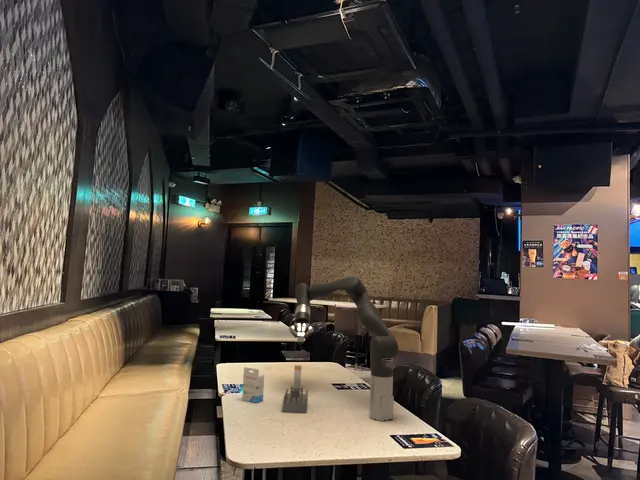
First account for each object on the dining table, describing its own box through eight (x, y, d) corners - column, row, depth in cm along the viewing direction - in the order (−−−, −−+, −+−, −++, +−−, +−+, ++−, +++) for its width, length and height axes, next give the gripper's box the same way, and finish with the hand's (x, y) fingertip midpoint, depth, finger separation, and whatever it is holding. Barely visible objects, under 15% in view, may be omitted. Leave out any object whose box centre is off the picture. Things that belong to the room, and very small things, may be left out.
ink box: (263, 401, 209) (265, 367, 210) (257, 403, 204) (259, 369, 206) (248, 398, 213) (250, 365, 214) (241, 400, 208) (243, 366, 210)
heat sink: (285, 402, 208) (286, 382, 209) (307, 403, 208) (308, 383, 209) (282, 412, 193) (283, 390, 194) (306, 413, 193) (307, 391, 194)
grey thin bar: (293, 389, 207) (294, 365, 208) (300, 389, 207) (301, 365, 208) (293, 389, 206) (294, 365, 207) (300, 390, 206) (301, 366, 207)
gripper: (315, 321, 237) (313, 349, 224) (289, 319, 237) (286, 347, 224) (315, 311, 232) (314, 339, 219) (289, 310, 232) (286, 338, 219)
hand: (300, 343), depth 222 cm, fingers closed
